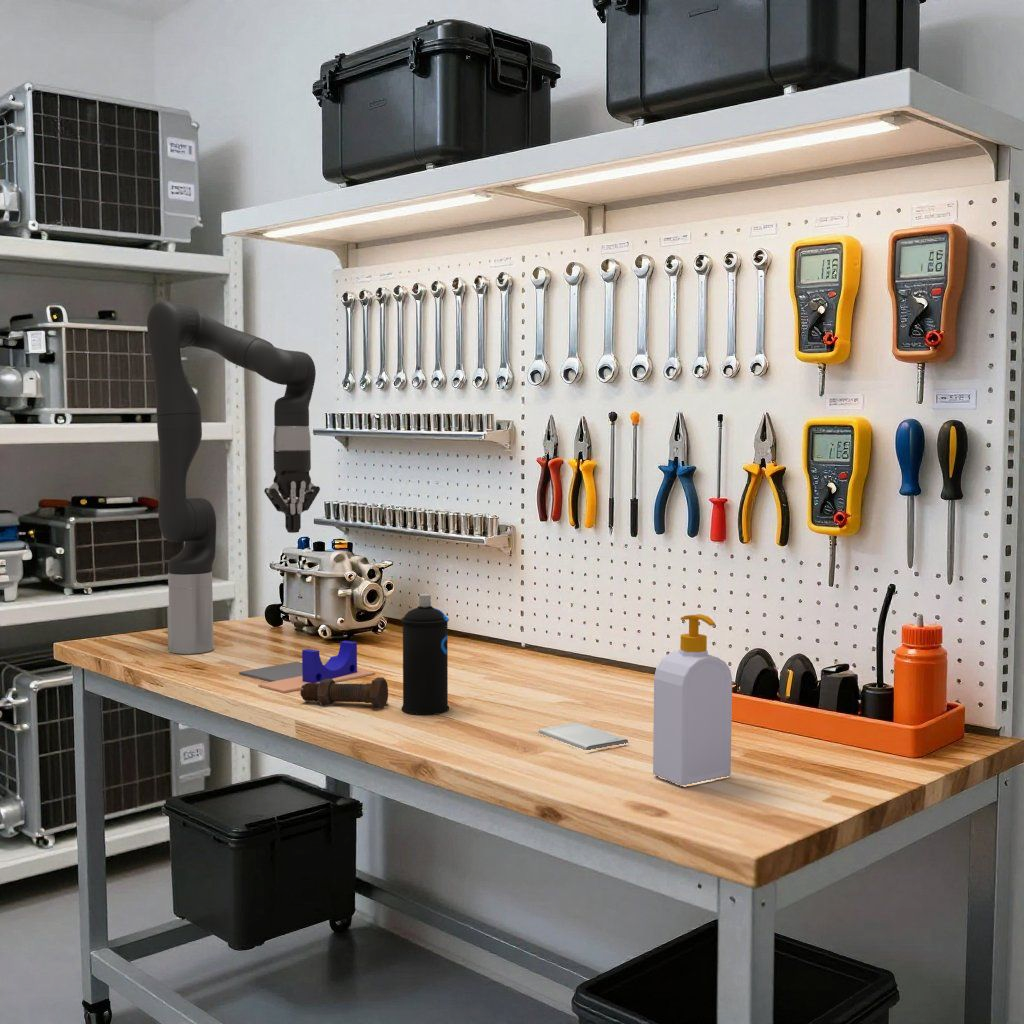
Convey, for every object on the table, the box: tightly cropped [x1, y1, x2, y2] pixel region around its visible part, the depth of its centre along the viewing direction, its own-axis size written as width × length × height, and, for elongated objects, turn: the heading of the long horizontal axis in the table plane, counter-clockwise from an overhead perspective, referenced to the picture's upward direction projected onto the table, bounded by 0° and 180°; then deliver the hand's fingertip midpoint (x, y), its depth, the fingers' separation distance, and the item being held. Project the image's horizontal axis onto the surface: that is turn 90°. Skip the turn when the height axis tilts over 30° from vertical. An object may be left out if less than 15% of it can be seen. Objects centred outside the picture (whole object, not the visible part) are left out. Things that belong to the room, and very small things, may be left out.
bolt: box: [299, 676, 389, 710], centre depth 202 cm, size 6×5×15 cm
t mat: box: [238, 661, 376, 694], centre depth 225 cm, size 20×22×1 cm
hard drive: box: [538, 722, 629, 750], centre depth 179 cm, size 2×8×12 cm
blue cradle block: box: [301, 640, 358, 683], centre depth 223 cm, size 12×4×6 cm, turn 145°
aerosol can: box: [400, 593, 450, 716], centre depth 198 cm, size 8×8×20 cm
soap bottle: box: [652, 613, 733, 785], centre depth 159 cm, size 9×7×23 cm
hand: (293, 532), depth 237 cm, fingers closed
